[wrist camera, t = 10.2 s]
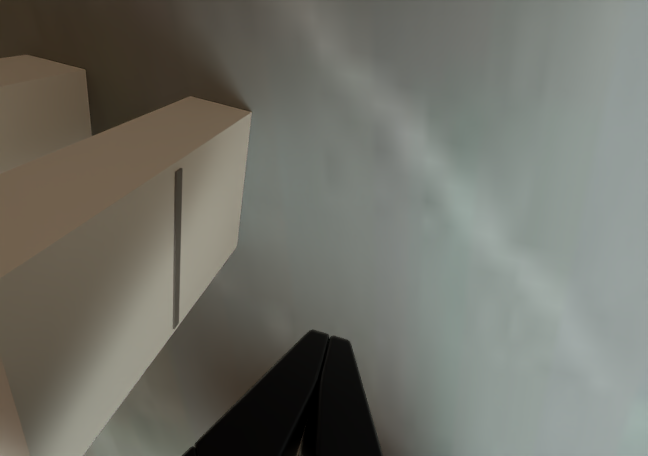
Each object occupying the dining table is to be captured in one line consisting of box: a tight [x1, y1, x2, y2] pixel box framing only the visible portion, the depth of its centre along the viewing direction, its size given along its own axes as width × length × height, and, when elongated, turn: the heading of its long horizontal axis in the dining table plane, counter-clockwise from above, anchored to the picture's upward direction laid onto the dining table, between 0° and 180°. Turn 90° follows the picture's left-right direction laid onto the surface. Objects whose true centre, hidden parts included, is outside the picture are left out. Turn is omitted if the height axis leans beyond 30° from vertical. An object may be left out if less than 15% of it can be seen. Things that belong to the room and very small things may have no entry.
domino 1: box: [0, 96, 252, 456], centre depth 10 cm, size 2×5×9 cm, turn 169°
